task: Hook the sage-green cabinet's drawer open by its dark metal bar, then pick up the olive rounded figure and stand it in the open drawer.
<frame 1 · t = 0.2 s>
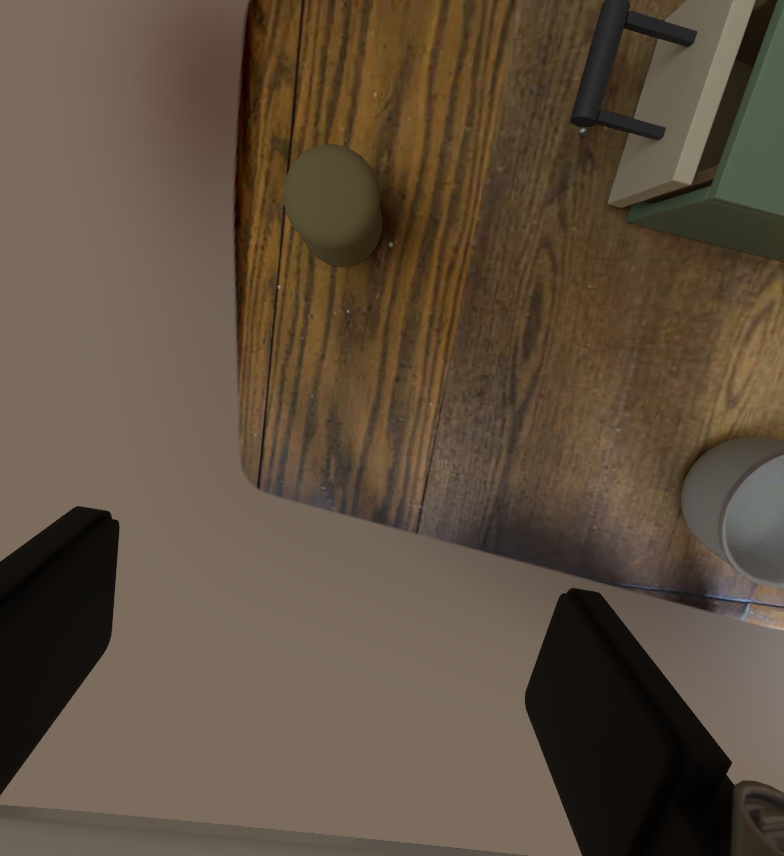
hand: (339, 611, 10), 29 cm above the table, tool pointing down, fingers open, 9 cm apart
olive rounded figure: (341, 223, 35), on the table
drawer: (724, 110, 30), point 5 cm above the table, slide at 1.0 cm
teacup: (736, 478, 42), on the table
cabinet: (746, 154, 35), on the table
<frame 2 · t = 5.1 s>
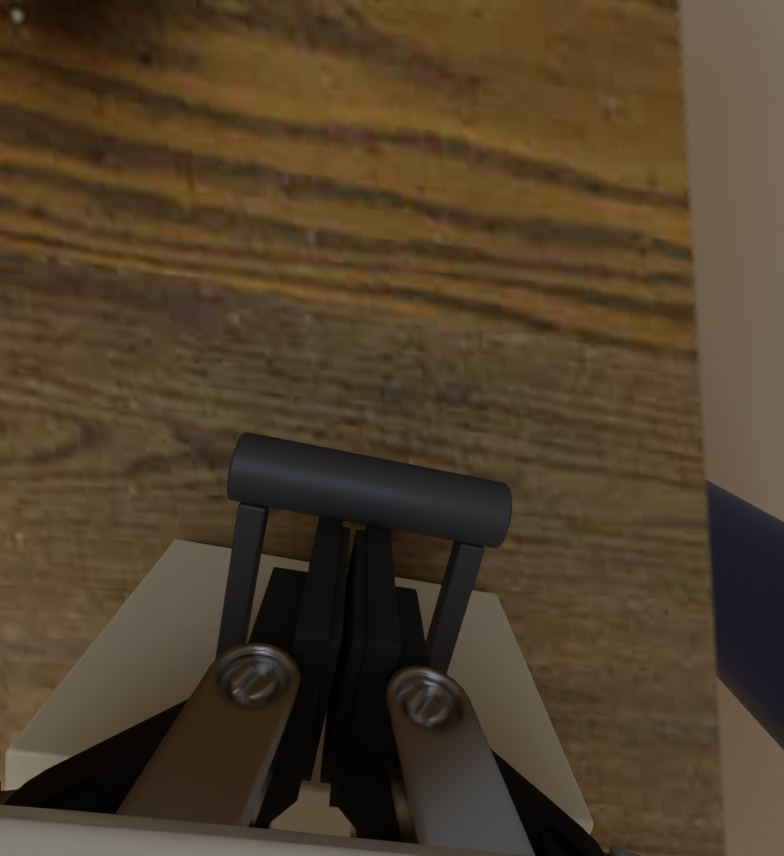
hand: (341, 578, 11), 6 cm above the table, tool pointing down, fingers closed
drawer: (308, 756, 14), point 5 cm above the table, slide at 1.5 cm
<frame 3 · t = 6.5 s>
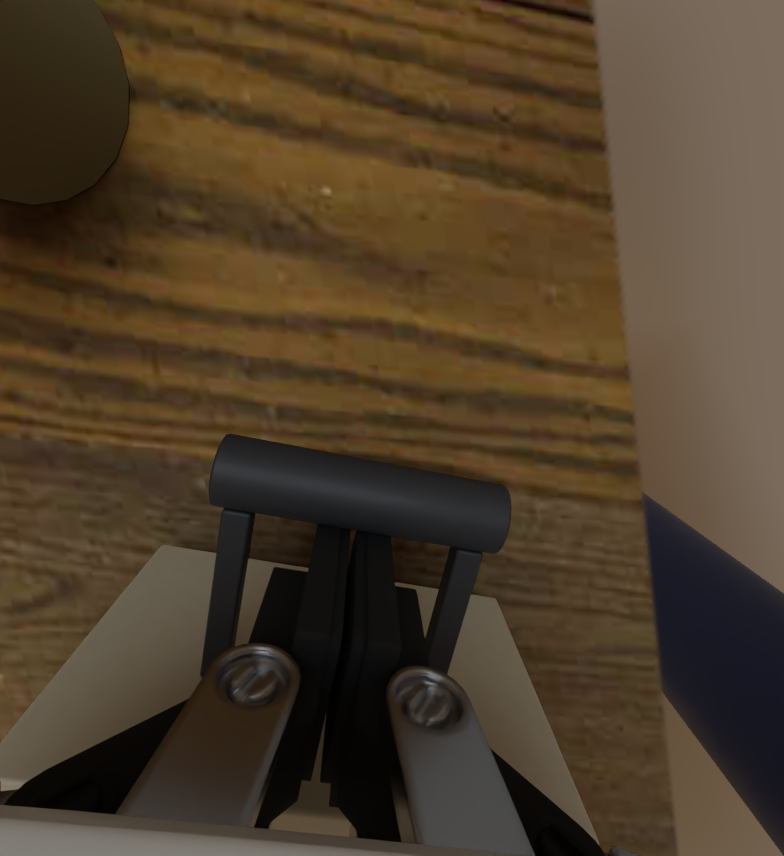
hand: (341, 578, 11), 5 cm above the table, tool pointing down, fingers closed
olive rounded figure: (16, 83, 13), on the table
drawer: (301, 769, 13), point 5 cm above the table, slide at 7.1 cm, touching gripper
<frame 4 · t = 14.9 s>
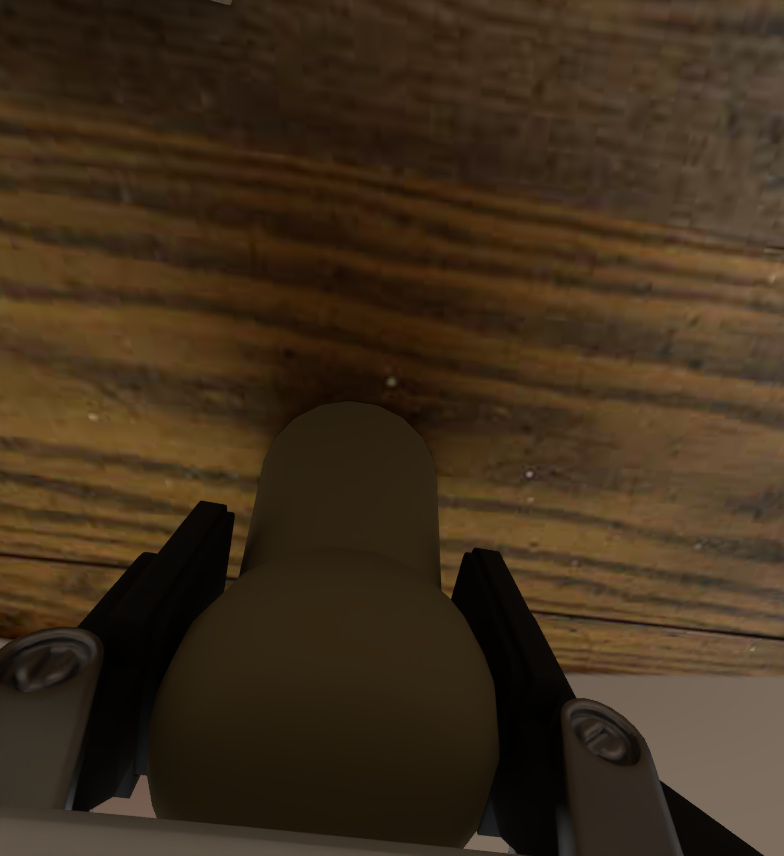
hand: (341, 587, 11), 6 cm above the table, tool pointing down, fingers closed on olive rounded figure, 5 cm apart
olive rounded figure: (350, 484, 17), on the table, touching gripper
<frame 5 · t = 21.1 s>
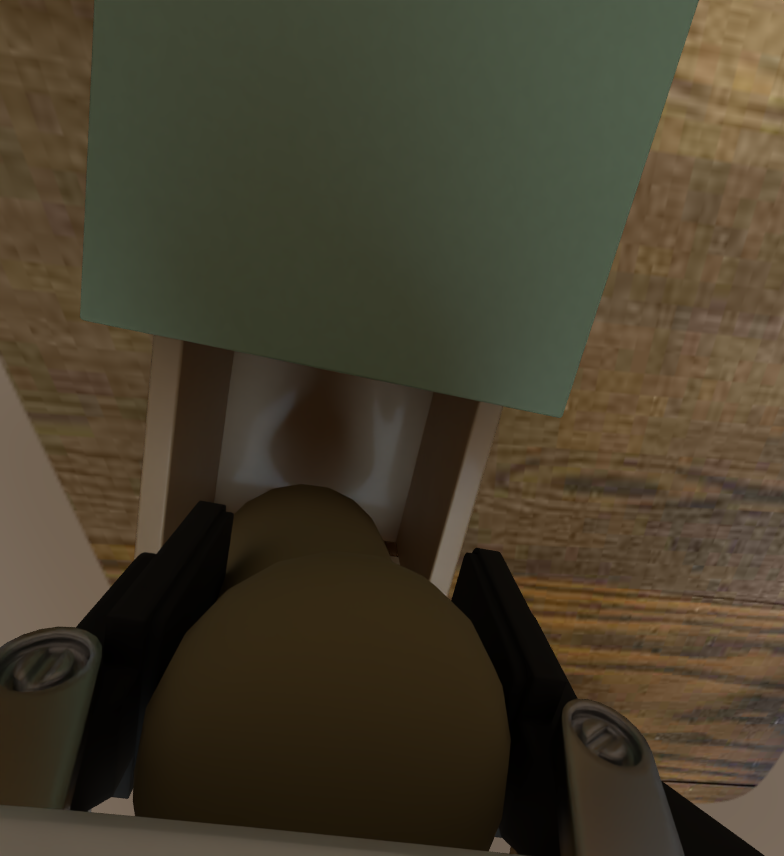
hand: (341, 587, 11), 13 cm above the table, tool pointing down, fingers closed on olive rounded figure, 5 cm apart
olive rounded figure: (300, 572, 16), point 8 cm above the table, touching drawer, gripper
drawer: (306, 533, 19), point 5 cm above the table, slide at 10.1 cm, touching olive rounded figure
cabinet: (377, 159, 20), on the table
when the fingers open (11 cm above the table, at t = 21.7 s): olive rounded figure drops 5 cm, resting on drawer.
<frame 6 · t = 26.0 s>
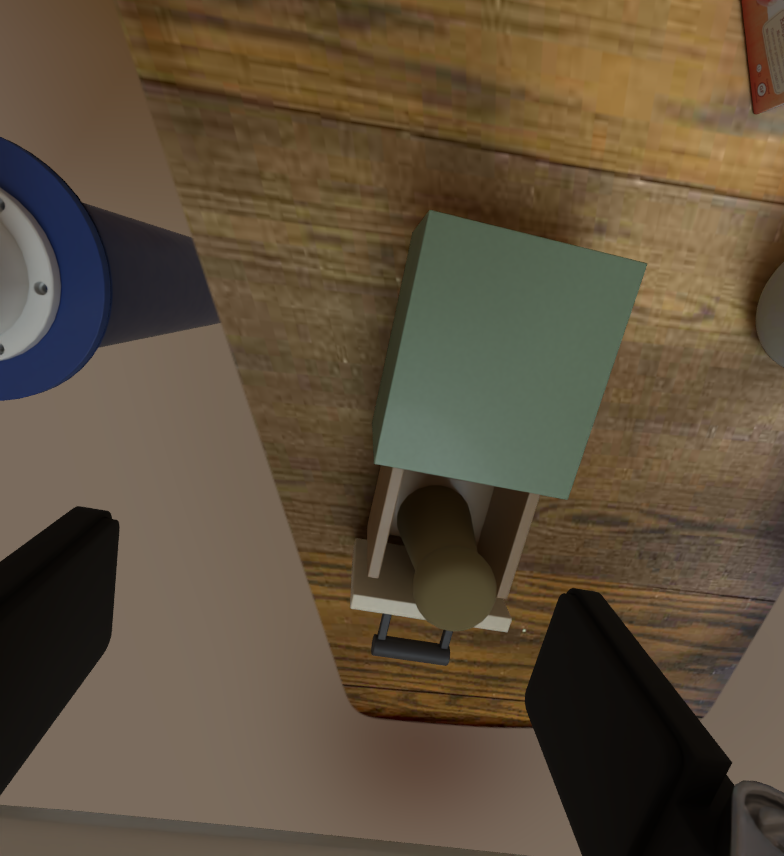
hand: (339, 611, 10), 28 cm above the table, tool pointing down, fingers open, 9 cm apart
olive rounded figure: (433, 518, 39), point 2 cm above the table, touching drawer
drawer: (435, 544, 36), point 5 cm above the table, slide at 9.8 cm, touching olive rounded figure
cabinet: (470, 349, 37), on the table
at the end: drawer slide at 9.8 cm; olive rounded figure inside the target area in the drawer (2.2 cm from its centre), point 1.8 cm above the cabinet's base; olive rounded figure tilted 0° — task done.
